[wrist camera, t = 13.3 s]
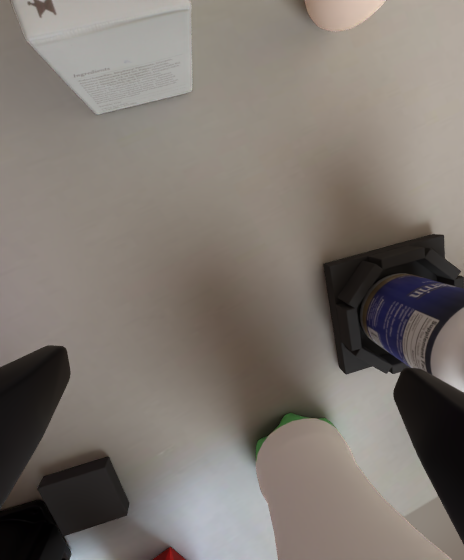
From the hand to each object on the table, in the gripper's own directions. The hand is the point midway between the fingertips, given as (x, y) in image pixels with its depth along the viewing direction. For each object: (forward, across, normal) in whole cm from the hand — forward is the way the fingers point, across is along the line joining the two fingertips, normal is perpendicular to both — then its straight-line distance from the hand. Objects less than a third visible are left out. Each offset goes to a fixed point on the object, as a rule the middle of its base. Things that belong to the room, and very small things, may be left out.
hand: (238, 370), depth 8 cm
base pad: (+8, +10, +20) cm, 24 cm away
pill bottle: (+13, -13, +4) cm, 18 cm away
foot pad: (+14, -13, +4) cm, 19 cm away
